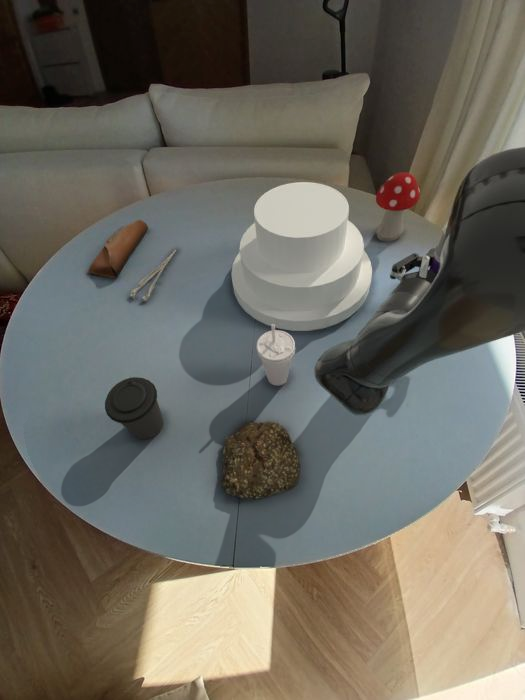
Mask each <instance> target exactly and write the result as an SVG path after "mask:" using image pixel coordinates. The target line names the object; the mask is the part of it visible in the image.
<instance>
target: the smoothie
mask: <svg viewBox="0 0 525 700" xmlns="http://www.w3.org/2000/svg"><path fill="white" fill-rule="evenodd" d="M270 328H271V330H269V331H265V333H263V334H261V335H260V337H259V338H258V339H257V340H256V341H257V342H256V354H257V355H258V357H259V358H260V361H261V363H262V366H263V369H264V371H265V372H264V373H265V375H266V377H267V381H268V382H269V383H270V385H273V386H277V387H278V386H283V385H284V384H285V383H287V382H288V379H289V373H290V368H291V363H292V358H293V356H294V354H295V352H296V343H295V340H294V337H292V335H291V334H289V333H288V332H286V331H284V330H281V329H279V330H278V329H276V327H275V324H271V326H270Z"/></svg>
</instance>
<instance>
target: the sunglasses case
mask: <svg viewBox="0 0 525 700" xmlns="http://www.w3.org/2000/svg"><path fill="white" fill-rule="evenodd" d="M148 229H149V226H148V224H147V223H146V222H145V221H144V220H142V219H137V220H135V221H133V222H131V223H129V224H128V225H125V226H124V227H121V228H119V229H118V230H116V231H115V233H113V235H111V236H110V237H109V238H108V239H107V240H106V242H105V243H104V244H103V248H102V249H101V250H100V252H98V254H97V255H96V257H95V258H94V259H93V261H92V263H91V264H90V266H89V268H88V270H87V272H88V273H89V274H91V275H95V276H99V277H104V278H110V279H116V278H117V277H118V275H120V273H121V272H122V270H123V268H124V267H125V265H126V262H128V260H129V258H130V256H131V255H132V253H133V252H134V251H135V249H136V247H137V246H138V244H139V243H140V242H141V240H142V238H144V236H145V234H146V233H147V231H148Z"/></svg>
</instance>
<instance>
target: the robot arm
mask: <svg viewBox="0 0 525 700" xmlns="http://www.w3.org/2000/svg"><path fill="white" fill-rule="evenodd" d="M446 228H447V229H446V233H445V237H444V241H443V245H442V250H441V254H440V269H439V272H438V274H435V273H434V272H432V271H430V270H429V268H430V265H431V263H432V260H433V257H434V254H435V252H436V249H437V247H438V245H437V246H436V247H432V248H430V250H429V251H428V252H427V253H426V254H424V255H423V256H420V255H419V254H418V253H416V252H414V253H411V254H409V255H408V256H406V257H404V258H403V259H400V260H399V261H398V262H396V263H394V264H392V267H391V270H390V274H389V278H390V279H391V280H396V279H397V280H398V281H400V283H399V284H398V285H397V286H396V288H394V289H393V291H391V293H390V294H389V295H388V296H387V297H386V299H385V300H384V301H383V302H382V303H381V305H380V306H379V307H378V308H377V310H376V312H375V314H374V315H373V316H372V317H371V318H370V319H369V320H368V321H367V323H365V325H364V326H363V327H362V329H360V331H359V332H358V334H357V336H356V337H355V338H353V339H350V340H347V341H344V342H340V343H338V344H336V345H334V346H332V347H330V348H328V349H327V350H326V351H325V352H324V353H322V354H321V356H320V357H319V358H318V359H317V361H316V363H315V365H314V371H313V374H314V379H315V381H316V382H317V384H318V385H319V386H320V387H321V388H322V389H323V390H324V391H326V392H327V393H328V394H329V395H330V396H331V397H332V398H334V399H335V401H337V402H338V403H339V404H340V405H341V406H342V407H344V408H345V410H347V411H348V412H349V413H351V414H353V415H354V416H359V417H363V416H366V415H370V414H372V413H374V412H375V411H376V410H377V409H379V407H380V406H381V405H382V403H383V402H384V400H385V398H386V396H387V394H388V392H389V389H390V386H391V384H393V383H395V382H397V381H398V380H400V379H402V378H403V377H405V376H407V375H408V374H409V373H411V372H413V371H414V370H416V369H418V368H419V367H421V366H423V365H425V364H428V363H430V362H432V361H435V360H439V359H442V358H445V357H448V356H451V355H454V354H458V353H462V352H464V351H467V350H470V349H474V348H477V347H479V346H483V345H486V344H489V343H491V342H495V341H498V340H501V339H505V338H507V337H510V336H513V335H517V334H520V333H523V332H525V146H521V147H514V148H508V149H506V150H503V151H499V152H496V153H493V154H492V155H489V156H488V157H486V158H484V159H481V161H479V162H478V163H477V164H476V165H475V166H473V167H472V168H471V169H470V170H469V171H468V172H467V174H466V175H465V176H464V177H463V179H462V180H461V183H460V185H459V187H458V189H457V192H456V194H455V196H454V200H453V203H452V207H451V210H450V213H449V218H448V221H447V226H446ZM415 268H418V271H413V272H410V271H412V270H413V269H415Z"/></svg>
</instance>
